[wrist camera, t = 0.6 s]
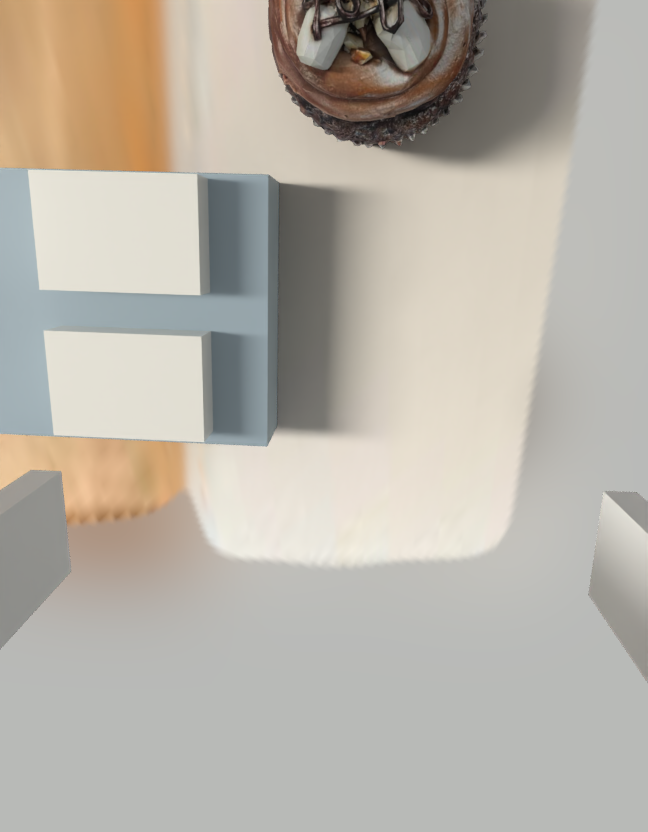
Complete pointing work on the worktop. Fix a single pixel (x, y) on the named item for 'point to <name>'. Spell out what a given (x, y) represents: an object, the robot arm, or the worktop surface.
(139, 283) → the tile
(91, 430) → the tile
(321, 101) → the cupcake
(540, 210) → the worktop surface
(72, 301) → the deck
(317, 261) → the worktop surface
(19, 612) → the robot arm
